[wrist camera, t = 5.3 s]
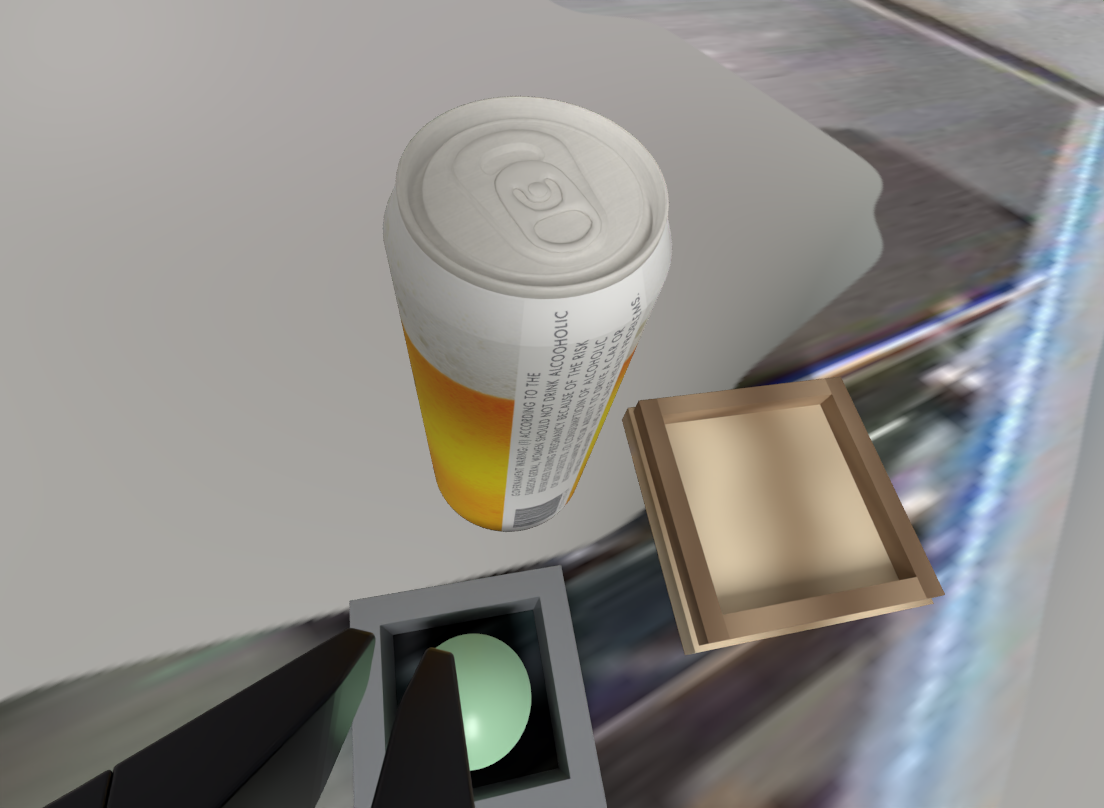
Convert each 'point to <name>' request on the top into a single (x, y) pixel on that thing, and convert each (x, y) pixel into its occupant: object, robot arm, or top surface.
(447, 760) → the robot arm
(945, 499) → the top surface
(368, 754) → the button console
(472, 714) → the button
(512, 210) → the beer can
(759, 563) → the shallow wooden tray
